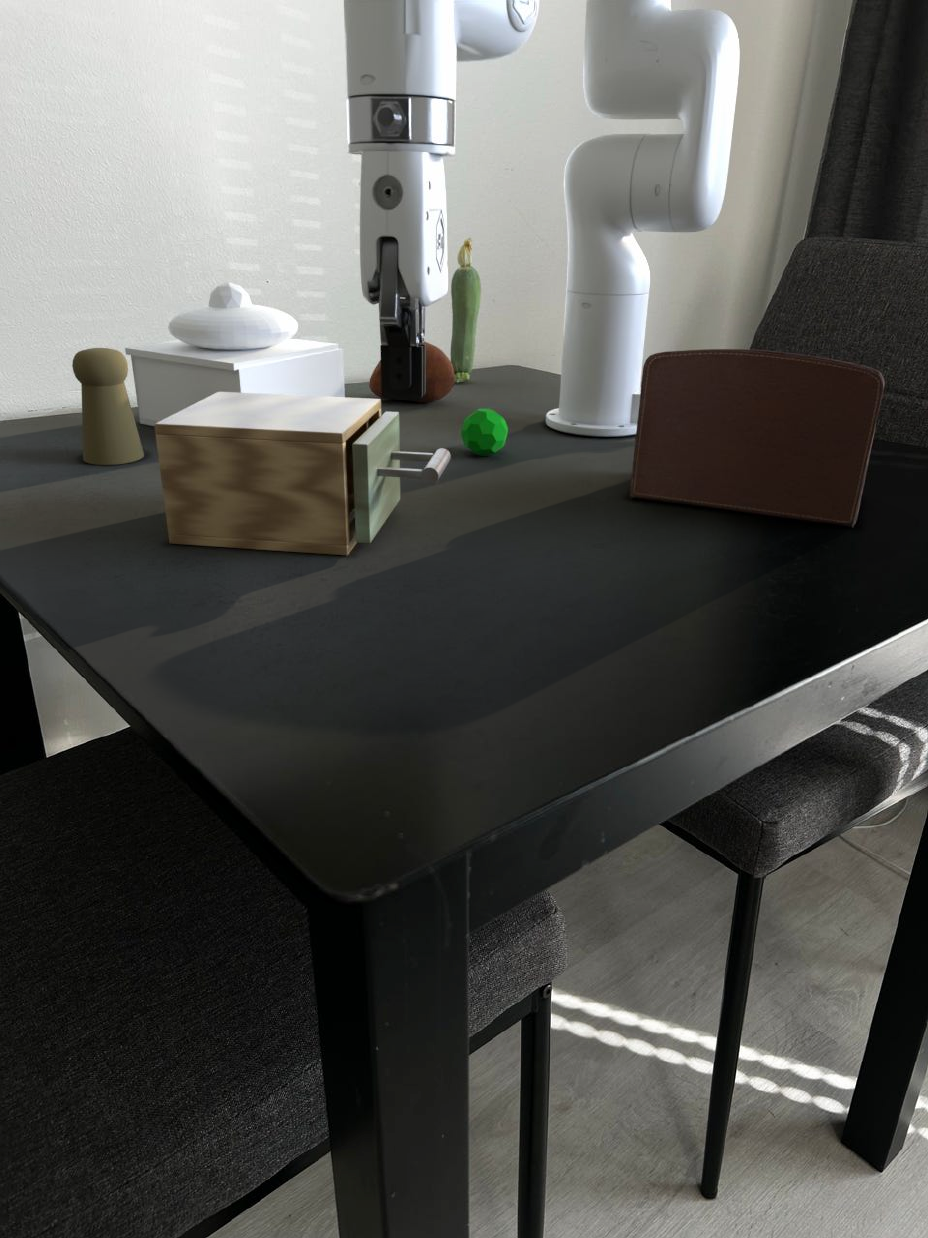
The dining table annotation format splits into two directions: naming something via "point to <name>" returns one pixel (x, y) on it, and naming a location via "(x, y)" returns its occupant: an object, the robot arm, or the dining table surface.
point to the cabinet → (261, 471)
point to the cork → (106, 408)
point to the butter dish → (231, 357)
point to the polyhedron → (484, 432)
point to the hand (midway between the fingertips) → (403, 396)
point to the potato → (436, 375)
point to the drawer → (382, 473)
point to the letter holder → (756, 433)
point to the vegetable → (464, 313)
